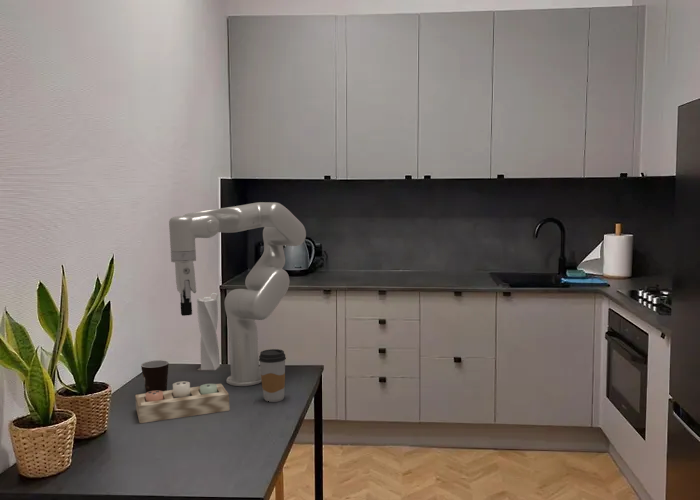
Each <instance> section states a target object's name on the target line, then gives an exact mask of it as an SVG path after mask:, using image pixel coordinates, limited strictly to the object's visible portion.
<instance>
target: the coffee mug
mask: <svg viewBox="0 0 700 500" xmlns="http://www.w3.org/2000/svg"><path fill="white" fill-rule="evenodd" d="M169 364H170V363H169V361H168V360H162V359H161V360H149V361H146V362H143V363H141V364H140V366H141V373H142V378H143V383H144V389H145V393H147V392H149V391H156V390H158V391H168V381H169V380H168V377H169Z"/></svg>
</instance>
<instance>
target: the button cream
mask: <svg viewBox="0 0 700 500" xmlns="http://www.w3.org/2000/svg"><path fill="white" fill-rule="evenodd" d="M190 388H191V382H189V381H185V380H184V381H182V380H181V381H177V382H174V383H172V390H173V398H180V397H188V396H190Z"/></svg>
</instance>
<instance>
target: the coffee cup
mask: <svg viewBox="0 0 700 500" xmlns="http://www.w3.org/2000/svg"><path fill="white" fill-rule="evenodd" d="M258 356H259V366H260V368H261V380H262V382H261V388H262V393H263V399H264V400H265V402H268V401H269V403H277V402H281V401H283V400H284V398H285V387H286V383H285V382H286V360H287V359H286V358H287V357H286V354H285V351H284V350H282V349H278V348H277V349H276V348H270V349H263V350H262V351H260V353H259V355H258Z"/></svg>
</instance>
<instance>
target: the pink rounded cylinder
mask: <svg viewBox="0 0 700 500" xmlns="http://www.w3.org/2000/svg"><path fill="white" fill-rule="evenodd" d="M145 393H146V392H145ZM145 393H144V394H145ZM145 395H146V402H150V401H158V400H163V392H162V391H158V390H156V391H149V392H147V393H146V394H145Z"/></svg>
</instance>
